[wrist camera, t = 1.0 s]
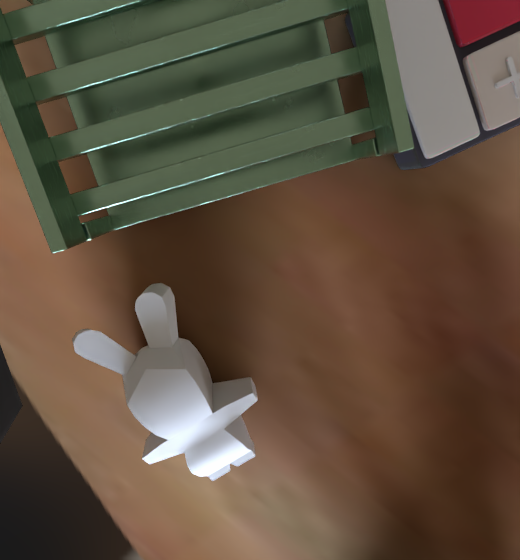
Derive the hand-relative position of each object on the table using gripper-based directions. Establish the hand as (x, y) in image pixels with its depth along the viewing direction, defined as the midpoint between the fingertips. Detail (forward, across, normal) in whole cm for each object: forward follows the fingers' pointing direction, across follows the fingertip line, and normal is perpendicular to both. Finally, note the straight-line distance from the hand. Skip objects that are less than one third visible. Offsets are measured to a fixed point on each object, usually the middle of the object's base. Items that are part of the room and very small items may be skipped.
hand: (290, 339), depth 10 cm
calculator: (+25, -15, -5) cm, 30 cm away
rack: (+25, +3, -4) cm, 26 cm away
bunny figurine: (+20, +6, +16) cm, 27 cm away
